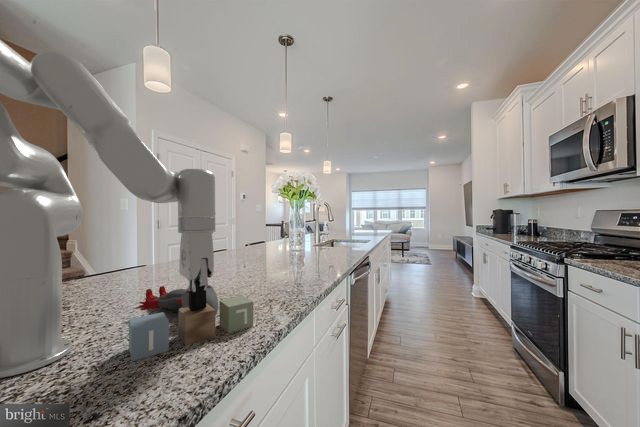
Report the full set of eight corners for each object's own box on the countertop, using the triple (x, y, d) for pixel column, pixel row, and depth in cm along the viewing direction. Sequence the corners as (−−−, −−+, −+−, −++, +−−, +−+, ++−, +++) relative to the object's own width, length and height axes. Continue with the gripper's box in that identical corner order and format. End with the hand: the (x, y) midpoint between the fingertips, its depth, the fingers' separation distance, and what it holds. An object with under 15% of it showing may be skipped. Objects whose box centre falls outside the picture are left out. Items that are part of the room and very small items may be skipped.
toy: (179, 282, 89) (234, 277, 72) (181, 311, 88) (238, 313, 71) (123, 294, 76) (174, 291, 59) (125, 328, 75) (178, 335, 58)
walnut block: (185, 346, 54) (185, 316, 54) (178, 336, 59) (178, 309, 59) (215, 337, 58) (215, 309, 58) (206, 328, 63) (206, 303, 63)
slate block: (131, 361, 49) (132, 328, 49) (128, 349, 53) (129, 319, 53) (169, 351, 52) (169, 320, 52) (163, 340, 57) (163, 312, 57)
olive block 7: (229, 333, 60) (229, 307, 60) (219, 325, 65) (219, 300, 65) (253, 326, 64) (253, 301, 64) (242, 319, 69) (242, 295, 69)
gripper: (171, 225, 62) (171, 304, 62) (187, 227, 51) (188, 323, 51) (204, 224, 67) (205, 297, 67) (226, 225, 56) (227, 313, 55)
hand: (197, 308), depth 59 cm, fingers closed
